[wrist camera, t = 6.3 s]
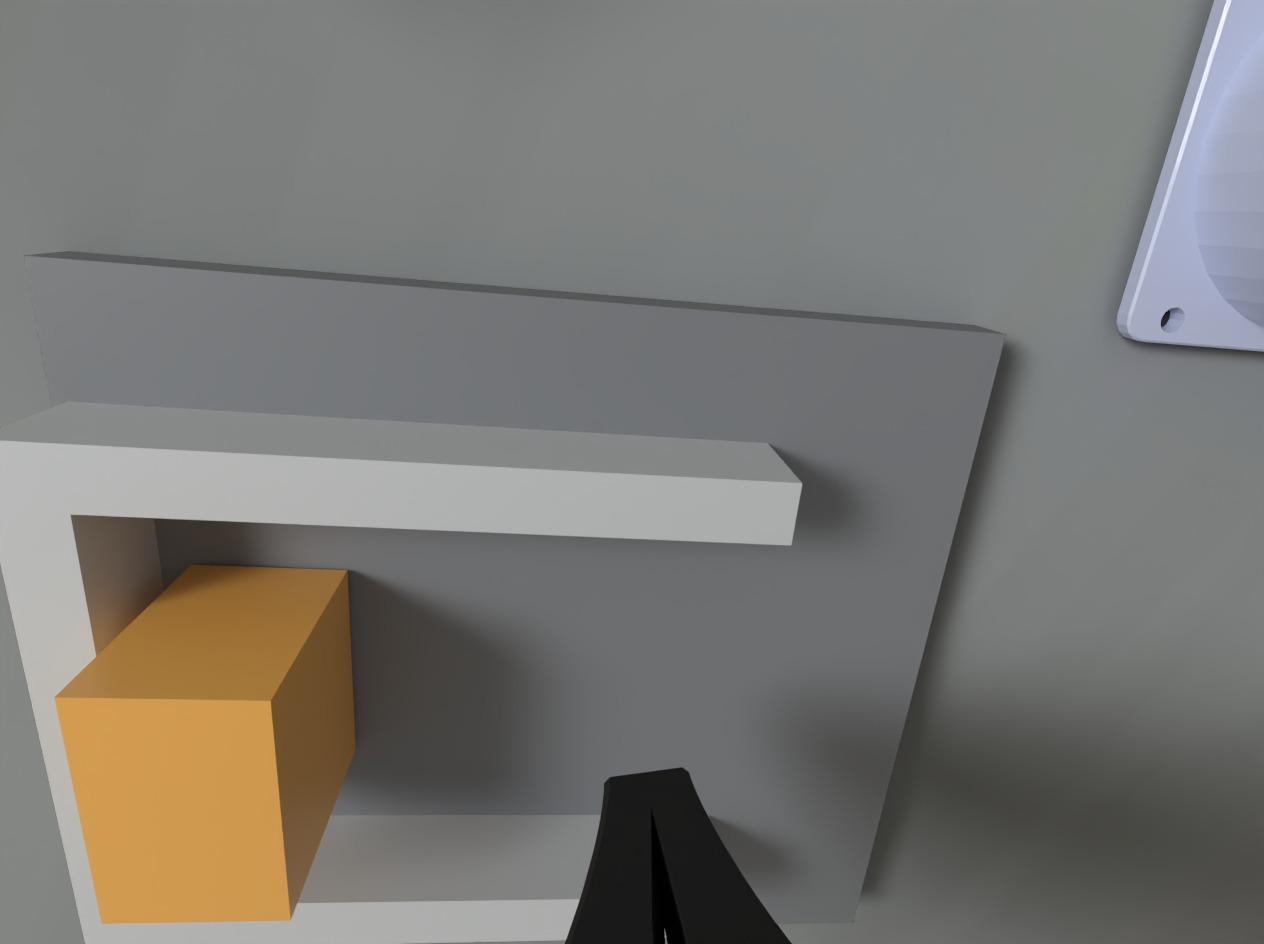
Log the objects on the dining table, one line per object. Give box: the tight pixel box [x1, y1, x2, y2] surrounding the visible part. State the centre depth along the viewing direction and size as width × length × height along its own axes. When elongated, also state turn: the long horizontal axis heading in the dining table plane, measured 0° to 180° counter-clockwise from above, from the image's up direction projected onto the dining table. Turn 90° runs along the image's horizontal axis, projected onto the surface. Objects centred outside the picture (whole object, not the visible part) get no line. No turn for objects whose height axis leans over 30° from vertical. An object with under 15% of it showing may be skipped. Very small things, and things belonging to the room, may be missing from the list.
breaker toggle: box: [54, 565, 356, 924], centre depth 13 cm, size 3×4×4 cm, turn 175°
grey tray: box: [0, 251, 1006, 944], centre depth 16 cm, size 18×16×4 cm
